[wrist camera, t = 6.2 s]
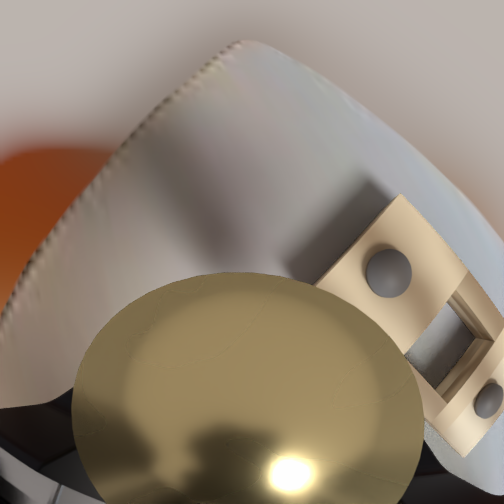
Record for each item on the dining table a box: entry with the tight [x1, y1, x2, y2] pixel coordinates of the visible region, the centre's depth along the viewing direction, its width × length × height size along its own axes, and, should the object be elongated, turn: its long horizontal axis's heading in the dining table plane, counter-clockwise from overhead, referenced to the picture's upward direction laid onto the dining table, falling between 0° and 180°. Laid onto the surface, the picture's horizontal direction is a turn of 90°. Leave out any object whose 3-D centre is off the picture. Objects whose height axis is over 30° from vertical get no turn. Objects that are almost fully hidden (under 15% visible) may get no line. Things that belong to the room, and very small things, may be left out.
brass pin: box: [71, 273, 424, 504], centre depth 10 cm, size 4×4×14 cm
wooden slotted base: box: [313, 193, 504, 458], centre depth 20 cm, size 10×22×4 cm, turn 45°
